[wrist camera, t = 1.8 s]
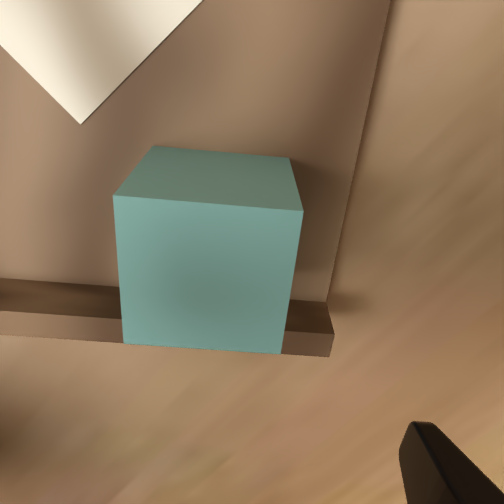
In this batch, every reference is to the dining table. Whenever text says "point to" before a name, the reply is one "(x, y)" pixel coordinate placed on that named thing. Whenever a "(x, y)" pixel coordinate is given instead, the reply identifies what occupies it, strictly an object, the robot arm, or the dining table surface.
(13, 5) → the arena
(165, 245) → the teal block
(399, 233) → the dining table surface
